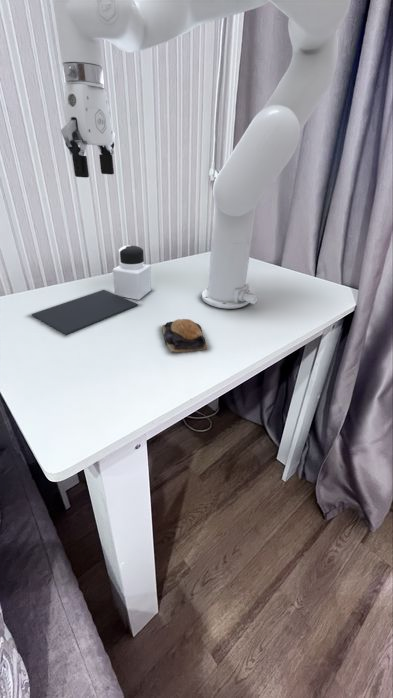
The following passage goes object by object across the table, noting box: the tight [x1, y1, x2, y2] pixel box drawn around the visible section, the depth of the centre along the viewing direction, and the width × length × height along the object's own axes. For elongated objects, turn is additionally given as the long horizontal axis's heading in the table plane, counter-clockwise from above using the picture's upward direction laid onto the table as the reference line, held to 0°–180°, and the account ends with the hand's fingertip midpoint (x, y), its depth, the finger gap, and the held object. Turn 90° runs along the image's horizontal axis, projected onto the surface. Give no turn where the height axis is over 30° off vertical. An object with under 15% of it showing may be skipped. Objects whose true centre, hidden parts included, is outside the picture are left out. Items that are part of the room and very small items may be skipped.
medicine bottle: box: [112, 245, 152, 301], centre depth 84 cm, size 7×7×12 cm
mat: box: [31, 289, 139, 336], centre depth 78 cm, size 13×20×1 cm, turn 142°
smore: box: [161, 318, 208, 354], centre depth 68 cm, size 11×8×4 cm
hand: (95, 175), depth 75 cm, fingers open, 9 cm apart
